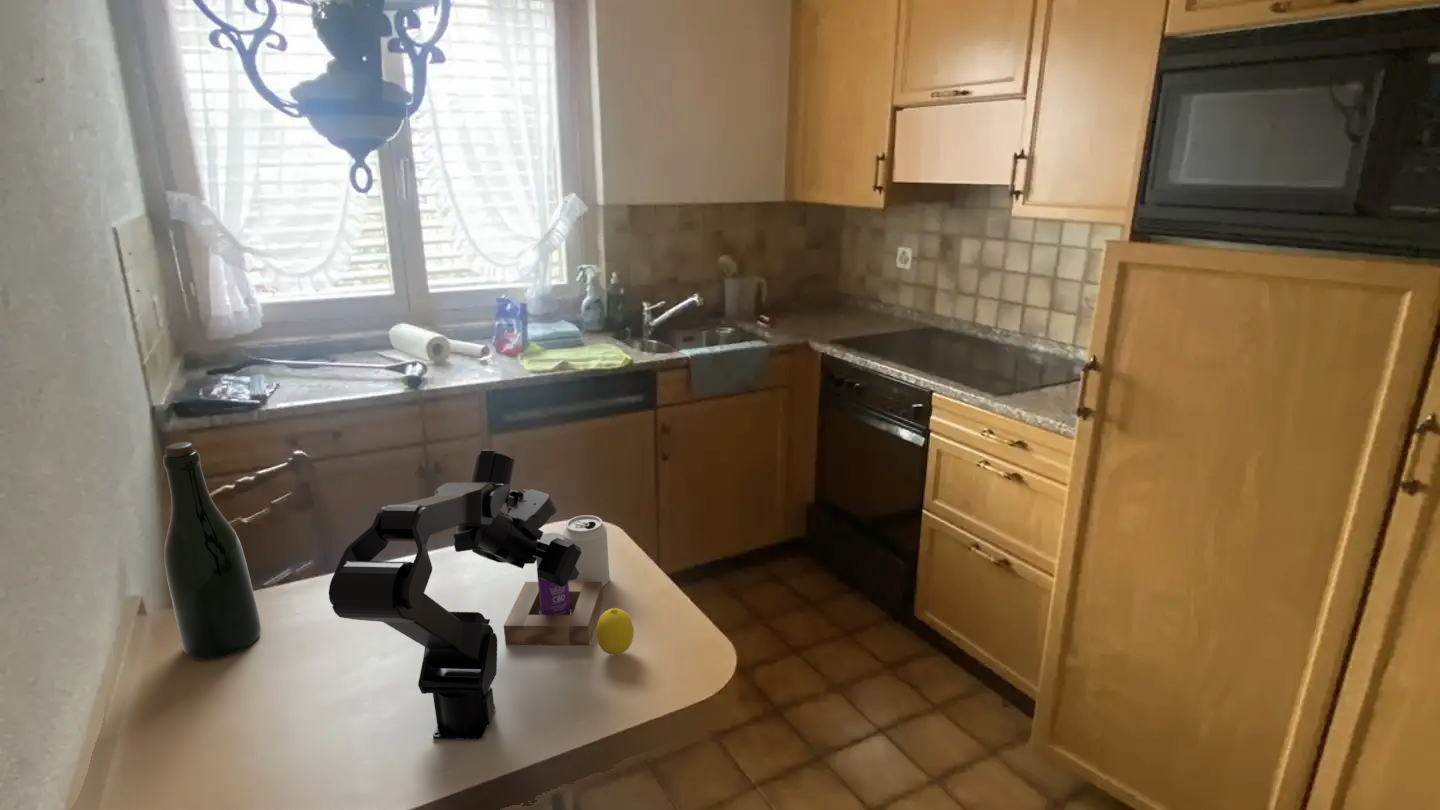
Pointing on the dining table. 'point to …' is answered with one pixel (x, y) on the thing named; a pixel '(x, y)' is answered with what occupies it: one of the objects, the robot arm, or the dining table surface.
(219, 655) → the beer bottle
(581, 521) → the can
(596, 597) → the frame
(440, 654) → the robot arm
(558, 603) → the container
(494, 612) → the dining table surface
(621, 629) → the lemon
